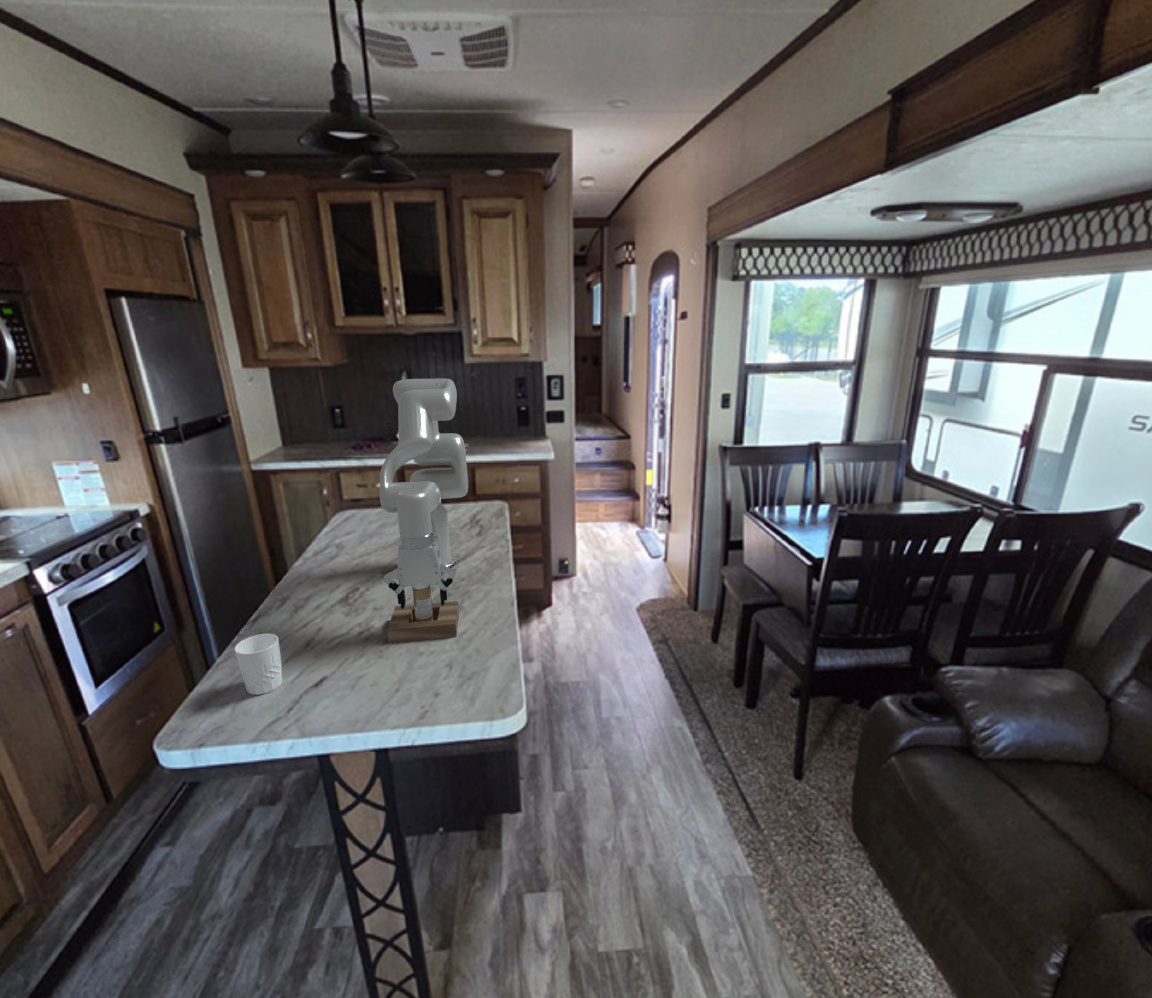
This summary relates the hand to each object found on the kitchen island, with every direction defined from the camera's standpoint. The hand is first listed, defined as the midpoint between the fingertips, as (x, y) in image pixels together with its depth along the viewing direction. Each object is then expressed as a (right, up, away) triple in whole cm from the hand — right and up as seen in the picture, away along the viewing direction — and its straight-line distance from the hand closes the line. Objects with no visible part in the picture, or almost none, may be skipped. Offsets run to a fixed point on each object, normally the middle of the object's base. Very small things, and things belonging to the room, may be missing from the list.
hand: (423, 604), depth 135 cm
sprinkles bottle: (0, -6, +2) cm, 6 cm away
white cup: (-28, -13, -21) cm, 37 cm away
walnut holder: (0, -6, +2) cm, 6 cm away
